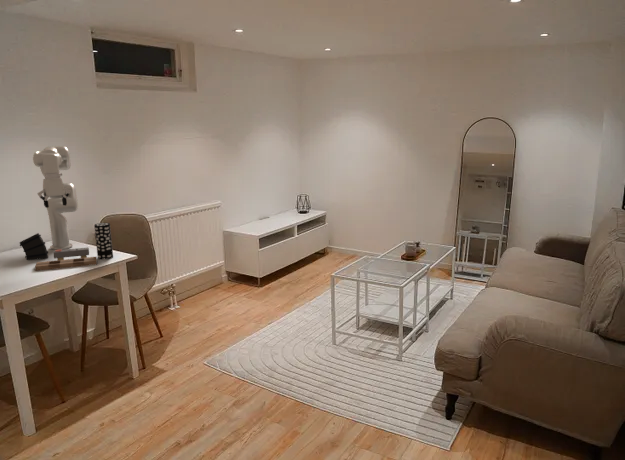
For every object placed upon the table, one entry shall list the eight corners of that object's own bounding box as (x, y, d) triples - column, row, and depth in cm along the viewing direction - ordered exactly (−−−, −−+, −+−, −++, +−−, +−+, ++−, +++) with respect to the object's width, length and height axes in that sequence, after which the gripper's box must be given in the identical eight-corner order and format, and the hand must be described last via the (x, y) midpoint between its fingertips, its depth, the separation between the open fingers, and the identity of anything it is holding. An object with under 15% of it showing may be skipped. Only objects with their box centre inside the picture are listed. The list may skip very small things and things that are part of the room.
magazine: (52, 256, 279) (37, 234, 274) (31, 266, 278) (15, 244, 273) (54, 254, 283) (39, 232, 278) (33, 264, 281) (17, 243, 276)
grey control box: (55, 260, 276) (53, 249, 275) (89, 257, 283) (88, 246, 281) (54, 262, 272) (53, 251, 271) (89, 259, 279) (88, 248, 277)
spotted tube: (96, 259, 278) (92, 226, 273) (99, 255, 286) (96, 223, 281) (111, 259, 279) (108, 225, 275) (114, 255, 287) (111, 222, 283)
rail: (37, 266, 265) (36, 262, 264) (96, 260, 276) (96, 256, 276) (35, 270, 258) (34, 266, 257) (96, 264, 269) (96, 260, 268)
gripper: (65, 174, 278) (68, 203, 281) (33, 177, 265) (36, 207, 268) (71, 175, 273) (74, 205, 277) (38, 177, 260) (42, 208, 264)
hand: (55, 206), depth 273 cm, fingers open, 9 cm apart
